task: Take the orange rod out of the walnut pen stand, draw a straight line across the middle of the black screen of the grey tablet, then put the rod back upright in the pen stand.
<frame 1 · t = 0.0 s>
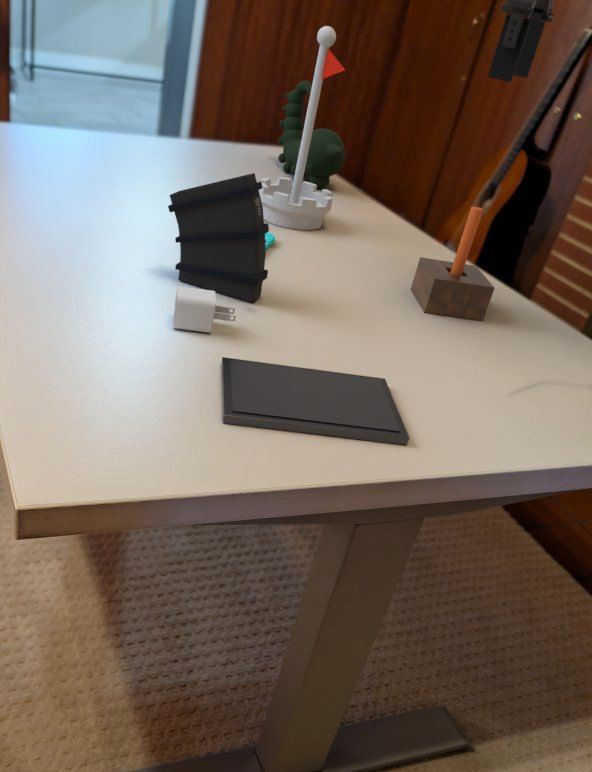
hand: (508, 77, 94), 30 cm above the table, tool pointing down, fingers open, 13 cm apart
magazine: (211, 287, 99), on the table
tablet: (309, 402, 77), on the table
flag stand: (290, 220, 132), on the table
pen stand: (445, 304, 108), on the table
orange rod: (461, 258, 105), in the pen stand
toy figurine: (304, 179, 159), on the table
usb wall charger: (202, 328, 88), on the table
handheld gaming console: (237, 246, 114), on the table
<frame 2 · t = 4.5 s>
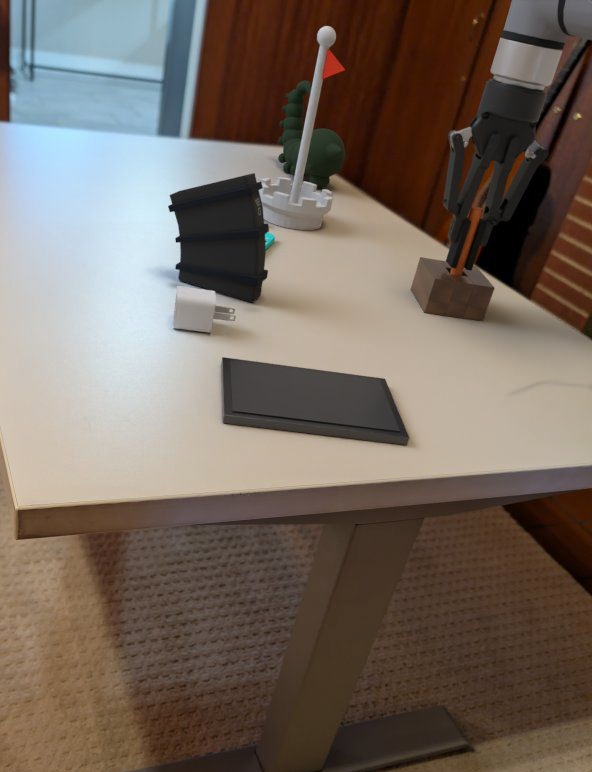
hand: (458, 265, 105), 6 cm above the table, tool pointing down, fingers closed on orange rod, 1 cm apart
orange rod: (461, 258, 105), in the pen stand, touching gripper
everything else where it was.
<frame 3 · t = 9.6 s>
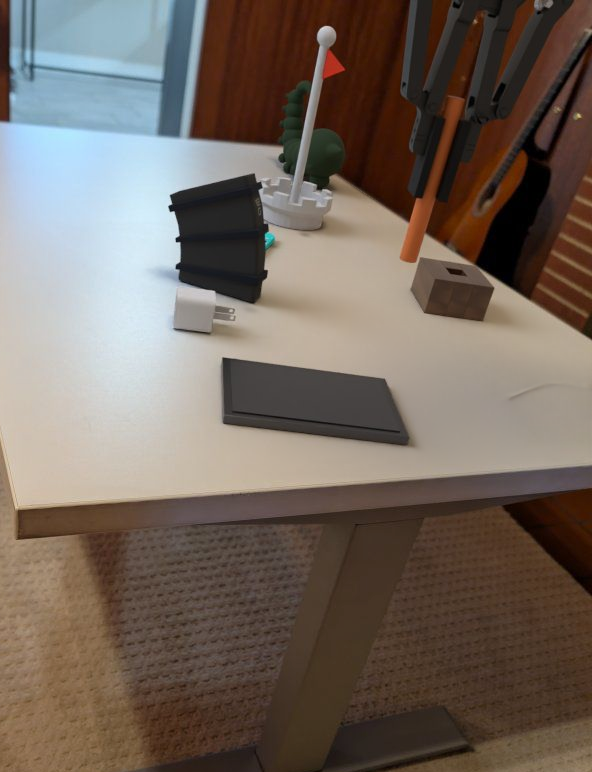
hand: (427, 195, 66), 22 cm above the table, tool pointing down, fingers closed on orange rod, 1 cm apart
orange rod: (430, 183, 66), point 23 cm above the table, touching gripper
everything else where it was.
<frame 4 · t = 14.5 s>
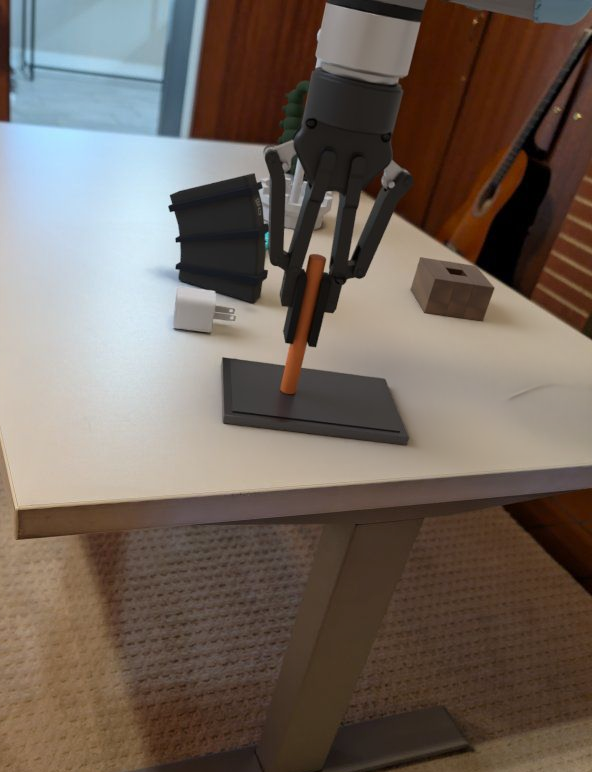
hand: (299, 338, 73), 7 cm above the table, tool pointing down, fingers closed on orange rod, 1 cm apart
orange rod: (302, 327, 72), point 8 cm above the table, touching gripper
everything else where it was.
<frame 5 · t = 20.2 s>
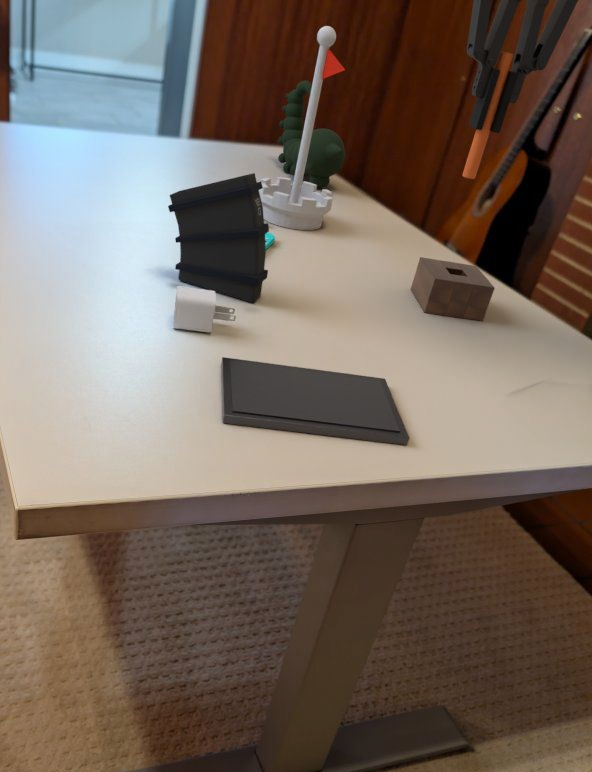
hand: (484, 128, 91), 24 cm above the table, tool pointing down, fingers closed on orange rod, 1 cm apart
orange rod: (487, 117, 90), point 26 cm above the table, touching gripper
everything else where it was.
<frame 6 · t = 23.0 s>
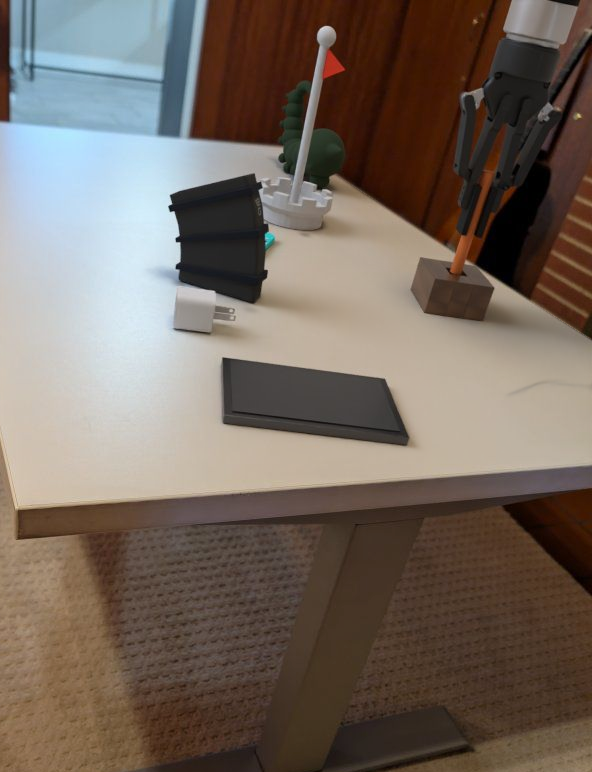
hand: (468, 233, 103), 11 cm above the table, tool pointing down, fingers closed on orange rod, 1 cm apart
orange rod: (471, 224, 102), point 12 cm above the table, touching gripper
everything else where it was.
when the fingers open (6 cm above the table, at t = 24.8 s): orange rod stays where it is, resting in pen stand.
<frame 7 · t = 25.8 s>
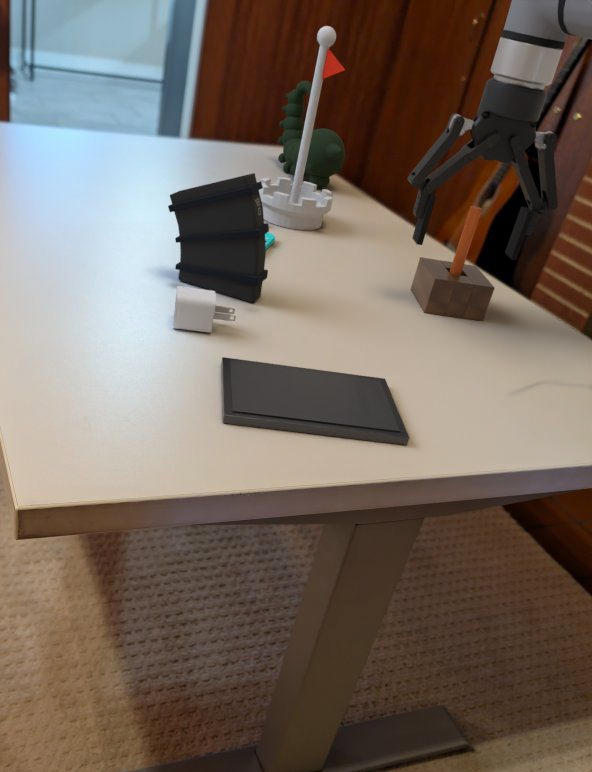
hand: (464, 249, 104), 8 cm above the table, tool pointing down, fingers open, 13 cm apart
orange rod: (460, 257, 105), in the pen stand
everything else where it was.
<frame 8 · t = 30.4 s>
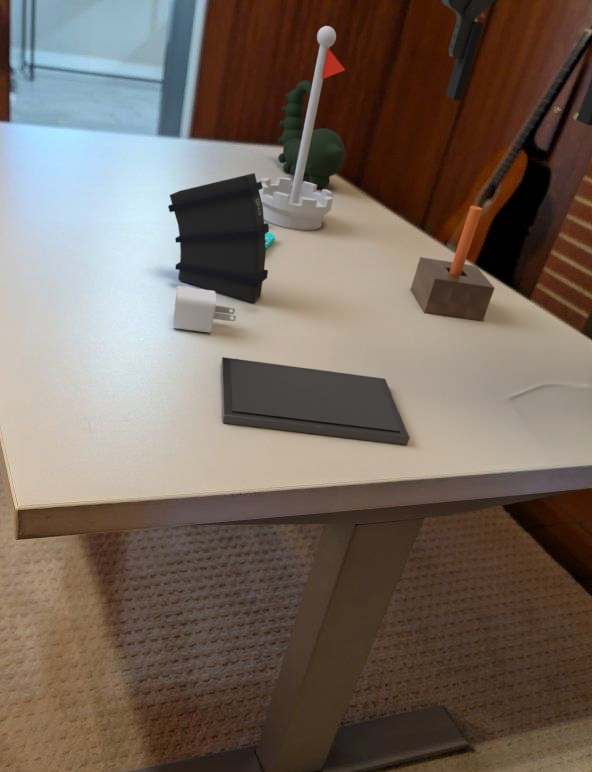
hand: (519, 111, 73), 29 cm above the table, tool pointing down, fingers open, 13 cm apart
nothing on the table moved.
at the end: orange rod 0.2 cm off-centre in the pen stand, point 7.0 cm above the pen stand's base; orange rod tilted 0°; orange rod touching table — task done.
